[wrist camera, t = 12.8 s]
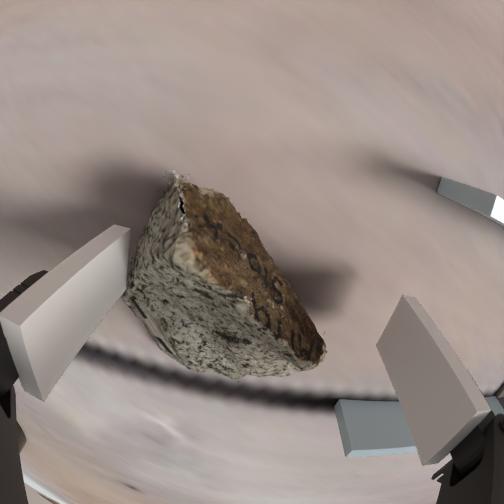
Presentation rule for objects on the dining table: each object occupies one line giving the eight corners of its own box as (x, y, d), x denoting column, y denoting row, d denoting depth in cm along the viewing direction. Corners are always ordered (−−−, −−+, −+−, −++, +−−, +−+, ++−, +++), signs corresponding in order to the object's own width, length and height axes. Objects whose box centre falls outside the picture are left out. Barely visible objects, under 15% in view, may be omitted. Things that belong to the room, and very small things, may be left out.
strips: (334, 406, 17) (345, 457, 13) (441, 176, 11) (496, 195, 8) (489, 402, 18) (507, 431, 14) (571, 258, 13) (601, 279, 9)
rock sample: (38, 325, 11) (92, 435, 4) (114, 181, 13) (240, 131, 7) (197, 388, 17) (316, 449, 11) (244, 280, 20) (371, 298, 14)
